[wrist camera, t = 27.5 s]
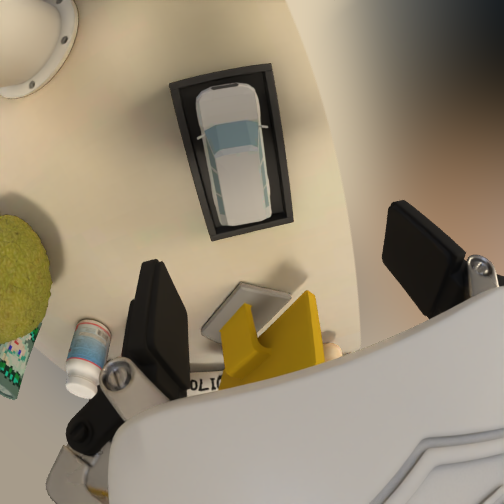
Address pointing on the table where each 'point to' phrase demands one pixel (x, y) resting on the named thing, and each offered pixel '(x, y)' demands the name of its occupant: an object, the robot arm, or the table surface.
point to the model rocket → (204, 382)
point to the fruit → (21, 279)
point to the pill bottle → (87, 358)
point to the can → (15, 363)
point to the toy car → (234, 152)
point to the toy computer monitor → (265, 335)
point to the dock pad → (272, 140)
